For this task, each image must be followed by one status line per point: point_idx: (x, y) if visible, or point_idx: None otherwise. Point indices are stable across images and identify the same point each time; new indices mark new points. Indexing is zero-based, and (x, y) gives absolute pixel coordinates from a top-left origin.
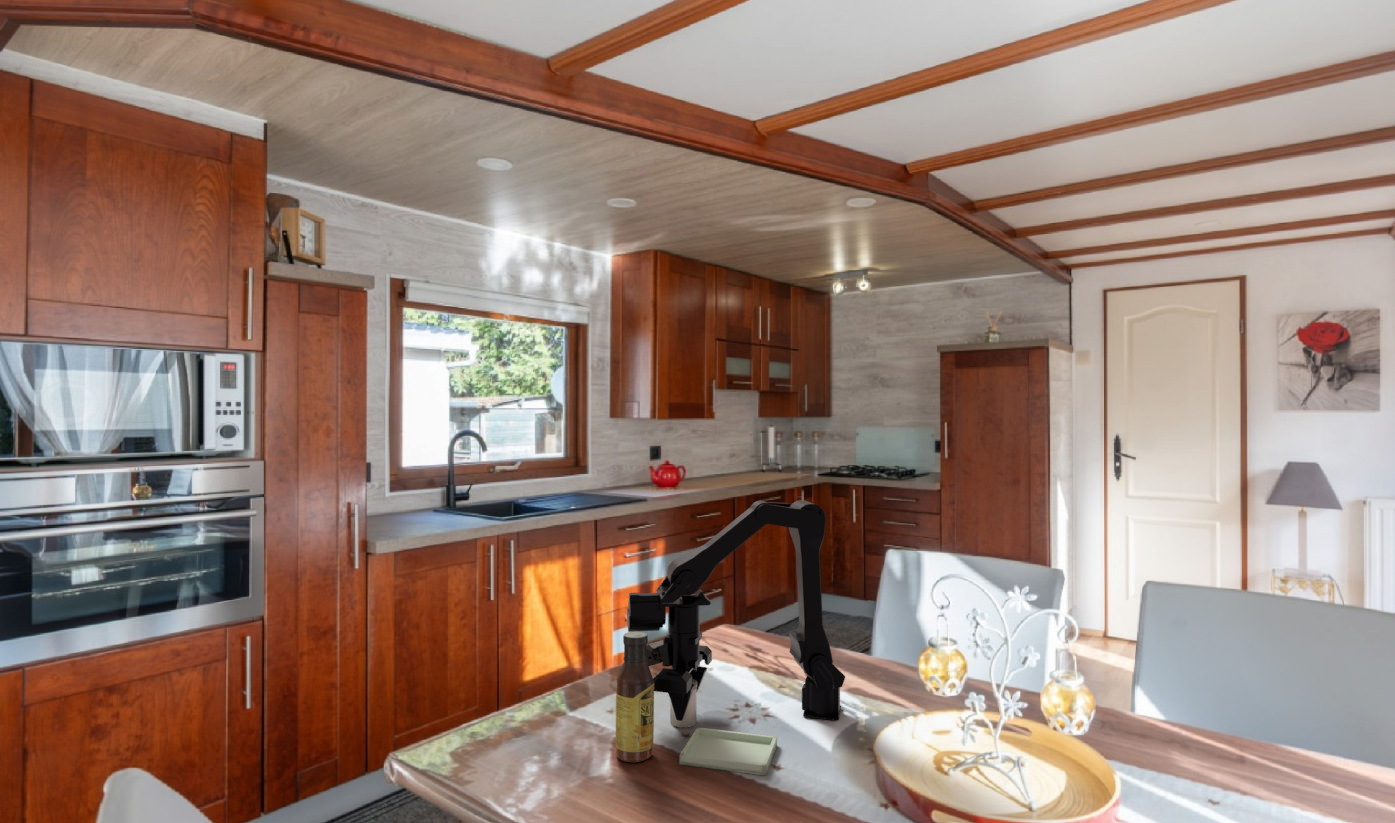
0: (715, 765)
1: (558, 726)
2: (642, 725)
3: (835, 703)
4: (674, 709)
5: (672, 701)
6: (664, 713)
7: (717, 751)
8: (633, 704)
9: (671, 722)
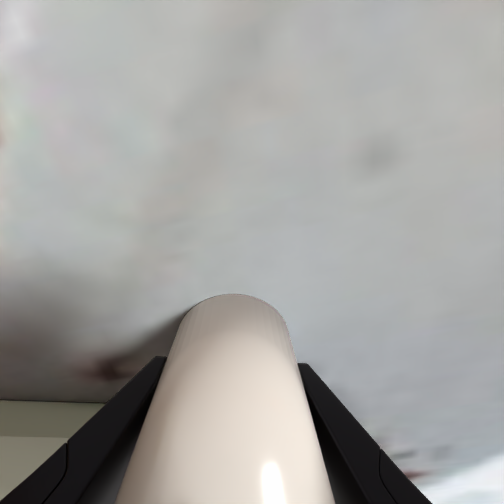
0: None
1: None
2: None
3: None
4: (107, 406)
5: (43, 470)
6: (317, 249)
7: (4, 478)
8: None
9: (196, 308)
